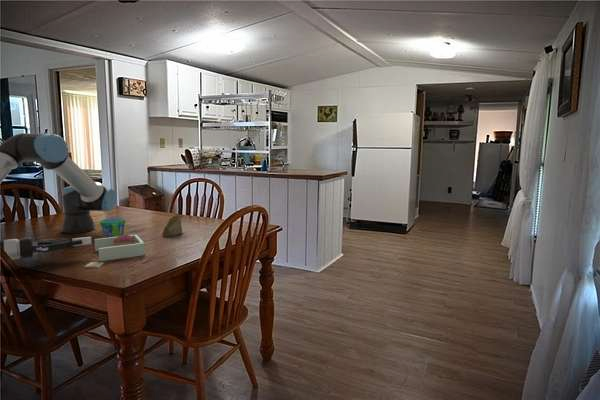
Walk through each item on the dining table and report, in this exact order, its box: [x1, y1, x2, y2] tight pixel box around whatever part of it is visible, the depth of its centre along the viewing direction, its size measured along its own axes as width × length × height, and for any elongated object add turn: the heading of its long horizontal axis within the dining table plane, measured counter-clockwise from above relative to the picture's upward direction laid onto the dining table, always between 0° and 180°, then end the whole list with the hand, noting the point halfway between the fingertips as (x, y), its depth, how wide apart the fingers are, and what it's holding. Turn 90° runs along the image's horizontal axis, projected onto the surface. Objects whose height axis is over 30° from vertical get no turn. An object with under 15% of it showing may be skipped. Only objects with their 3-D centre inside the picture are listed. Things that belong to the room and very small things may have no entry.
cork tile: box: [84, 261, 105, 269], centre depth 148 cm, size 5×5×1 cm
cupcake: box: [113, 222, 135, 246], centre depth 166 cm, size 9×8×12 cm
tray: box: [93, 234, 146, 262], centre depth 165 cm, size 17×17×5 cm
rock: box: [161, 214, 183, 237], centre depth 197 cm, size 11×9×10 cm
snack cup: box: [99, 217, 127, 238], centre depth 182 cm, size 16×10×10 cm
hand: (91, 240), depth 159 cm, fingers closed
